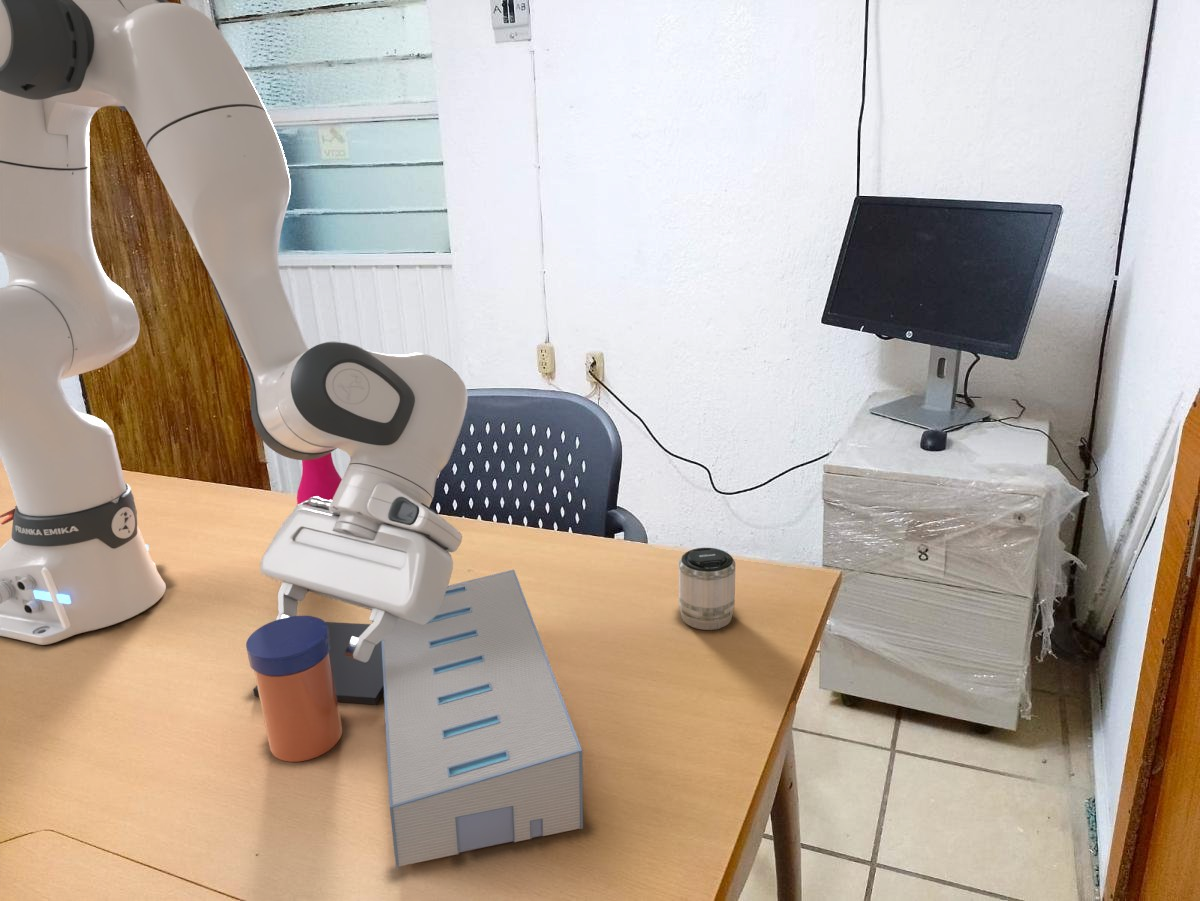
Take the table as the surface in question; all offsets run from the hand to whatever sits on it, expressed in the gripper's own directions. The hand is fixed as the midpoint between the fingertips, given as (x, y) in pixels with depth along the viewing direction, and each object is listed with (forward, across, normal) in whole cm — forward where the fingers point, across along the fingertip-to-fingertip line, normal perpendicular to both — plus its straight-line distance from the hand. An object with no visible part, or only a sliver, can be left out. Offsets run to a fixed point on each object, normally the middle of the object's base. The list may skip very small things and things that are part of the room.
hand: (317, 646), depth 76 cm
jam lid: (0, 0, -4) cm, 4 cm away
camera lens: (-17, +25, +29) cm, 42 cm away
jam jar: (+8, 0, +4) cm, 9 cm away
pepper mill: (-17, -34, +29) cm, 48 cm away
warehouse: (+2, +13, +9) cm, 16 cm away
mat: (0, -6, +11) cm, 13 cm away
